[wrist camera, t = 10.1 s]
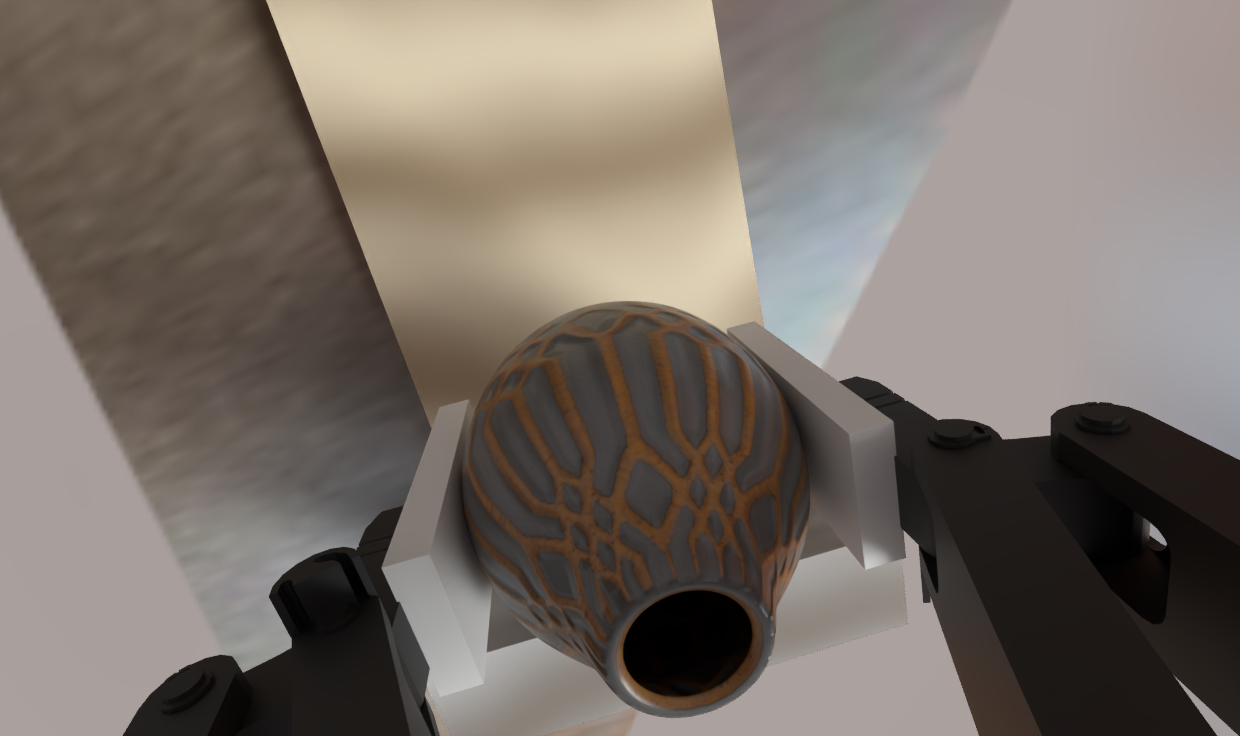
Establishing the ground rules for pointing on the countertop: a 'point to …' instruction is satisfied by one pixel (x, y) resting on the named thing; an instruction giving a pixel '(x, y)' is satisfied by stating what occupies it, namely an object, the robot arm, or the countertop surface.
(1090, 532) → the robot arm
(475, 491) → the vase
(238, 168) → the countertop surface
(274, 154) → the countertop surface
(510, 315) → the vise
